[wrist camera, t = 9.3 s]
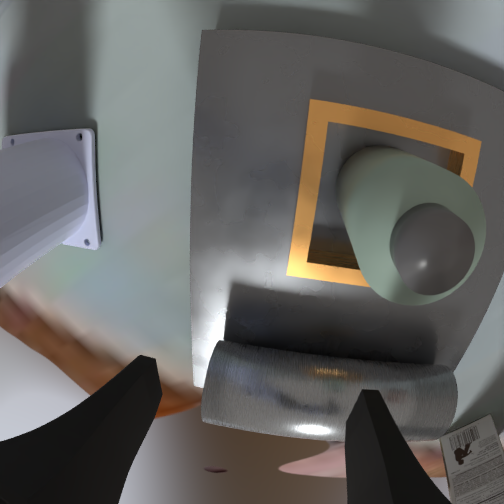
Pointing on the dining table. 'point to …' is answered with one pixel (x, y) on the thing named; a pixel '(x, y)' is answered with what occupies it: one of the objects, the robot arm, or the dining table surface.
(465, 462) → the coffee box
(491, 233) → the motor base
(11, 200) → the robot arm
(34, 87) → the dining table surface
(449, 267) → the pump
